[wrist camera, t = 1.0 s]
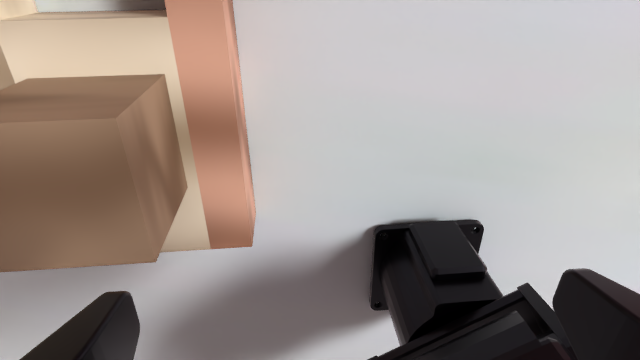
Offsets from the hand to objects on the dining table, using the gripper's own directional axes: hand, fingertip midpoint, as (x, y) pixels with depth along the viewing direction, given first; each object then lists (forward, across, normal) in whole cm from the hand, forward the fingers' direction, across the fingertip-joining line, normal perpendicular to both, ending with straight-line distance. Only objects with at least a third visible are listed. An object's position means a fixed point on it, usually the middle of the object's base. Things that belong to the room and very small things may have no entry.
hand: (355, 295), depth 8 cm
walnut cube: (+10, +8, 0) cm, 13 cm away
